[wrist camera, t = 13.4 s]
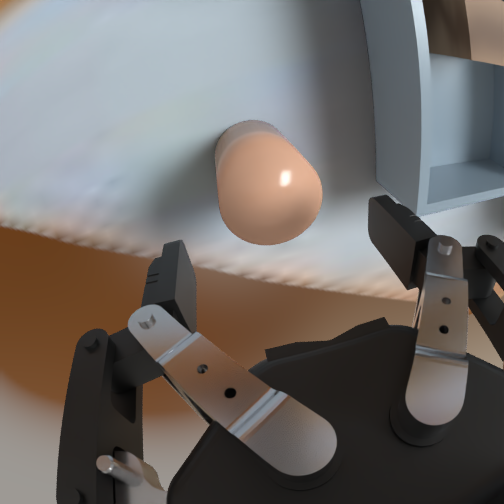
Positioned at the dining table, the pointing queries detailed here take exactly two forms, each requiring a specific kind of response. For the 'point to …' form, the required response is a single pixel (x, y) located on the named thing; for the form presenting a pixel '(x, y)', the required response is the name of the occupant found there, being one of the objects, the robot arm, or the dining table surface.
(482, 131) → the tote
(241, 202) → the terracotta cylinder
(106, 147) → the dining table surface
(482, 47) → the walnut cube
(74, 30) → the dining table surface
